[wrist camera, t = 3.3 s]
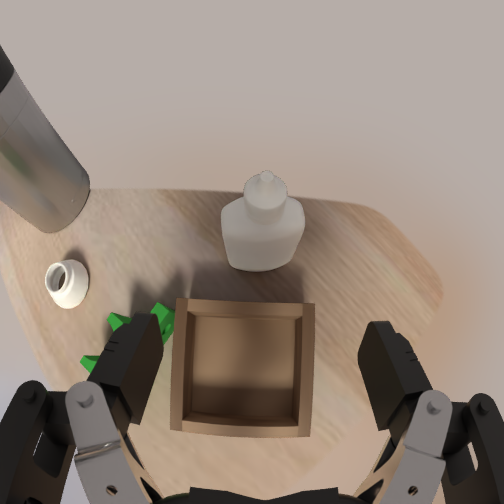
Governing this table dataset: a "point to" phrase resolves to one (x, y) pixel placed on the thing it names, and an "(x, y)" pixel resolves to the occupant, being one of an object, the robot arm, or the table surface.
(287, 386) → the box
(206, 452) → the table surface
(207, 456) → the table surface
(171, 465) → the table surface
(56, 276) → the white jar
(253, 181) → the eye dropper bottle
